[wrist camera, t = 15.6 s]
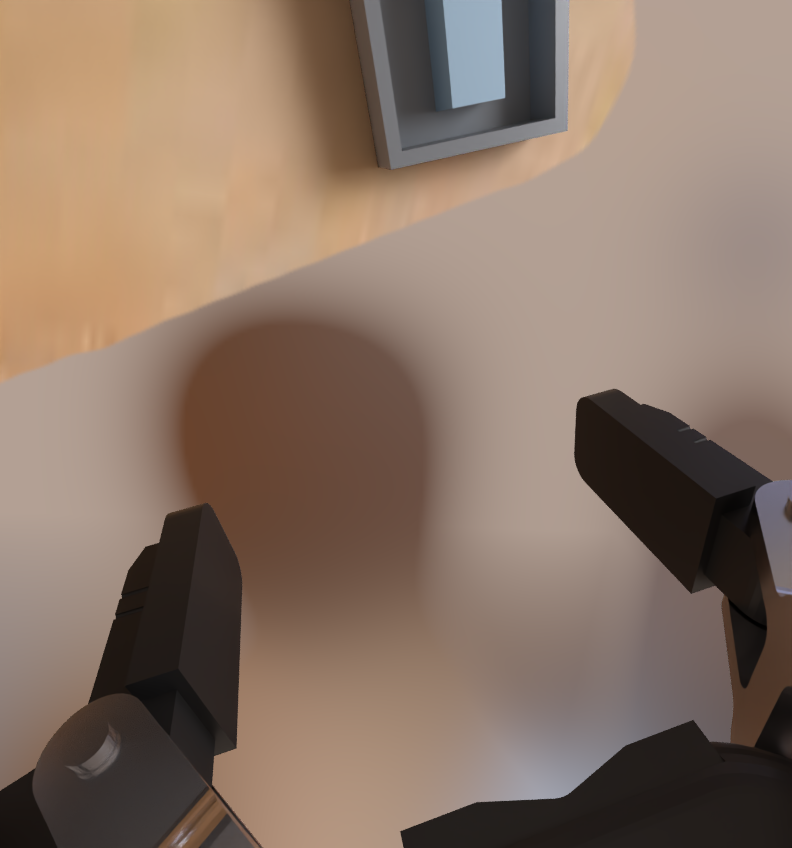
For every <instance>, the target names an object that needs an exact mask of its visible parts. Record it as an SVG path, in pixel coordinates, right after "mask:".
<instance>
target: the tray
mask: <svg viewBox="0 0 792 848" xmlns="http://www.w3.org/2000/svg"><path fill="white" fill-rule="evenodd" d="M349 1H350V6H351V12H352V18H353V24H354V29H355V35H356V41H357V47H358V52H359V58H360V64H361V70H362V75H363V81H364V87H365V93H366V98H367V104H368V110H369V116H370V122H371V127H372V133H373V139H374V145H375V150H376V156H377V162H378V167H381V168H386V169H390V170H392V169H396V168H401V167H406V166H410V165H415V164H419V163H424V162H428V161H433V160H437V159H442V158H446V157H451V156H455V155H460V154H464V153H469V152H474V151H478V150H483V149H487V148H492V147H496V146H501V145H505V144H510V143H514V142H519V141H523V140H528V139H532V138H537V137H542V136H546V135H551V134H555V133H560V132H564V131H568V60H569V0H501V1H502V26H503V51H504V76H505V98H502V99H497V100H492V101H487V102H482V103H477V104H473V105H468V106H463V107H458V108H453V109H447V110H442V111H437V112H436V107H435V97H434V88H433V78H432V68H431V59H430V49H429V40H428V30H427V21H426V11H425V2H424V0H349Z"/></svg>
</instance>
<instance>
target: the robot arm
mask: <svg viewBox="0 0 792 848" xmlns="http://www.w3.org/2000/svg"><path fill="white" fill-rule="evenodd" d="M574 455H575V456H574V457H575V463H576V466H577V469H578V471H579V474H580V475H581V477H582V479H583V480H584V481H585V482H586V483H587V485H588V486H589V487H590V488H591V489H592V490H593V491H594V492H595V493H596V494H597V495H598V496H599V497H600V498H601V499H602V500H603V501H604V503H606V505H607V506H608V507H609V508H610V509H611V510H612V511H613V512H614V513H615V514H616V515H617V516H618V517H619V518H620V519H621V520H622V521H623V522H624V524H625V525H626V526H627V527H628V528H629V529H630V530H631V531H632V532H633V533H634V534H635V535H636V536H637V537H638V538H639V539H640V540H641V541H642V542H643V543H644V544H645V545H646V547H647V548H648V549H649V550H650V551H651V552H652V553H653V554H654V555H655V556H656V557H657V558H658V559H659V560H660V561H661V562H662V563H663V565H665V567H666V568H667V569H668V570H669V571H670V572H671V573H672V574H673V575H674V576H675V577H676V578H677V579H678V580H679V581H680V582H681V583H682V584H683V586H684V587H685V588H686V589H687V590H688V591H689V592H690V593H691V594H692V593H695V592H698V591H700V590H704V589H706V588H710V587H712V586H717V588H718V589H719V590H720V591H721V592H723V594H724V596H723V599H722V603H721V609H722V616H723V624H724V632H725V640H726V647H727V655H728V663H729V670H730V679H731V685H732V695H733V717H732V724H731V736H730V743H724V742H709V740H708V739H707V738H706V736H705V735H704V734H703V732H702V731H701V730H700V728H699V727H698V726H697V724H696V723H695V722H694V721H693V720H692V721H689V722H687V723H684V724H681V725H679V726H676V727H674V728H671V729H668V730H666V731H663V732H661V733H658V734H655V735H652V736H650V737H647V738H645V739H642V740H639V741H637V742H634V743H631V744H629V745H626V746H625V747H623V748H622V749H621V750H620V751H619V752H618V753H616V754H615V755H614V756H613V757H612V758H611V759H609V760H608V761H607V762H606V763H605V764H604V765H603V766H601V767H600V768H599V769H598V770H596V771H595V772H594V773H593V774H592V775H591V776H589V777H588V778H587V779H586V780H585V781H584V782H583V783H581V784H580V785H579V786H578V787H577V788H576V789H574V790H573V791H572V792H571V793H569V794H568V795H566V796H564V797H561V798H556V799H538V800H517V801H495V802H476V803H474V804H471V805H468V806H466V807H463V808H460V809H458V810H455V811H453V812H450V813H447V814H445V815H442V816H440V817H437V818H434V819H432V820H429V821H426V822H424V823H421V824H418V825H416V826H413V827H411V828H408V829H405V830H403V831H401V837H402V842H403V847H404V848H792V480H780V481H774V482H773V481H771V480H770V479H768V478H767V477H765V476H764V475H762V474H761V473H759V472H758V471H756V470H755V469H753V468H752V467H750V466H749V465H747V464H746V463H744V462H743V461H741V460H740V459H738V458H737V457H735V456H734V455H732V454H731V453H729V452H728V451H726V450H725V449H723V448H722V447H720V446H719V445H717V444H716V443H714V442H713V441H711V440H709V441H708V440H707V439H706V437H705V436H704V435H702V434H701V433H699V432H698V431H696V430H694V429H690V427H689V425H687V424H686V423H684V422H683V421H681V420H680V419H678V418H677V417H675V416H674V415H672V414H671V413H669V412H666V411H663V410H660V409H657V408H655V407H652V406H649V405H646V404H642V405H640V404H638V403H637V402H636V401H634V400H633V399H631V398H630V397H629V396H627V395H626V394H624V393H623V392H621V391H619V390H617V389H612V390H608V391H604V392H601V393H597V394H593V395H590V396H587V397H583V398H581V399H580V400H579V401H578V403H577V409H576V428H575V452H574ZM121 595H122V599H120V600H119V603H118V607H117V610H116V613H115V615H116V619H115V620H113V623H112V627H111V630H110V634H109V637H108V640H107V644H106V647H105V650H104V653H103V657H102V660H101V663H100V668H99V670H98V673H97V677H96V680H95V683H94V687H93V690H92V693H91V697H90V700H89V703H88V705H86V706H84V707H83V708H81V709H80V710H79V711H77V712H76V713H75V714H74V715H72V716H71V717H70V718H69V719H68V720H67V721H66V722H65V723H64V724H63V725H62V726H61V727H60V728H59V729H58V730H57V732H56V733H55V734H54V735H53V737H52V738H51V739H50V741H49V742H48V744H47V745H46V747H45V749H44V750H43V752H42V754H41V756H40V758H39V760H38V762H37V765H36V768H35V769H33V770H32V771H31V772H29V773H28V774H26V775H24V776H23V777H21V778H20V779H18V780H17V781H15V782H13V783H12V784H10V785H9V786H7V787H6V788H4V789H2V790H1V791H0V848H263V847H262V846H261V844H260V843H259V842H258V841H257V839H256V838H255V837H254V836H253V834H252V833H251V832H250V831H249V830H248V828H247V827H246V826H245V824H244V823H243V822H242V821H241V819H240V818H239V817H238V816H237V815H236V813H235V812H234V811H233V810H232V808H231V807H230V806H229V805H228V803H227V802H226V801H225V800H224V798H223V797H222V796H221V795H220V793H219V792H218V791H217V790H216V789H215V787H214V786H213V785H212V776H213V763H214V756H215V755H219V754H221V753H224V752H227V751H230V750H233V749H236V744H237V716H238V714H237V713H238V687H239V660H240V631H241V604H242V603H241V602H242V577H241V570H240V566H239V563H238V559H237V557H236V554H235V552H234V550H233V548H232V546H231V544H230V542H229V540H228V538H227V536H226V534H225V532H224V530H223V528H222V526H221V524H220V522H219V520H218V518H217V516H216V514H215V513H214V510H213V508H212V507H211V506H210V505H209V504H208V503H204V504H200V505H197V506H193V507H190V508H186V509H183V510H179V511H176V512H172V513H169V514H168V515H167V516H166V518H165V521H164V525H163V529H162V534H161V538H160V542H159V543H157V544H154V545H150V546H147V547H145V548H144V550H143V551H142V552H141V554H140V555H139V557H138V558H137V559H136V561H135V562H134V563H133V565H132V566H131V568H130V569H129V570H128V573H127V577H126V580H125V584H124V587H123V590H122V594H121Z"/></svg>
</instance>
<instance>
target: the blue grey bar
mask: <svg viewBox="0 0 792 848" xmlns="http://www.w3.org/2000/svg"><path fill="white" fill-rule="evenodd" d="M424 2H425V11H426V21H427V30H428V40H429V49H430V59H431V68H432V78H433V88H434V97H435V107H436V112H437V111H442V110H447V109H453V108H458V107H463V106H468V105H473V104H477V103H482V102H487V101H492V100H497V99H502V98H505V76H504V51H503V26H502V1H501V0H424Z"/></svg>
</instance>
